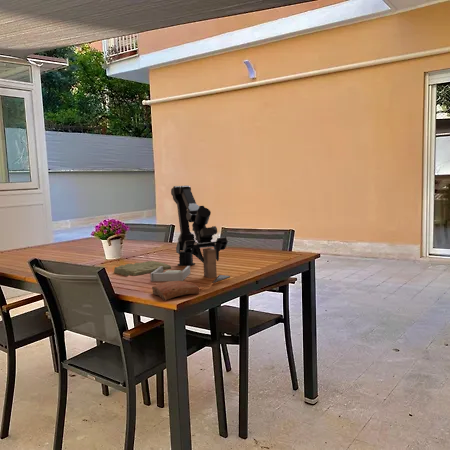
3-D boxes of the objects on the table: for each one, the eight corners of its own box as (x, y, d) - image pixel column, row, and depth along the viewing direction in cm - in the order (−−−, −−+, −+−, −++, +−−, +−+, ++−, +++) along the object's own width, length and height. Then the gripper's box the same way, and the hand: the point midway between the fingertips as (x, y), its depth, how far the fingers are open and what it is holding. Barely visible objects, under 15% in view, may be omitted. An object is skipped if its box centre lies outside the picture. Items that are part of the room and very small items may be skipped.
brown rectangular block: (204, 276, 188) (202, 248, 187) (211, 275, 189) (210, 247, 188) (208, 279, 182) (207, 250, 181) (216, 278, 184) (215, 249, 182)
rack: (160, 275, 196) (160, 266, 195) (190, 274, 194) (190, 265, 194) (150, 283, 181) (150, 273, 180) (182, 283, 179) (182, 273, 179)
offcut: (167, 273, 194) (167, 270, 194) (181, 273, 193) (181, 270, 193) (163, 275, 190) (163, 272, 190) (178, 276, 189) (178, 272, 188)
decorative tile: (171, 271, 206) (171, 263, 206) (134, 279, 192) (134, 271, 192) (148, 266, 220) (148, 259, 219) (112, 273, 206) (112, 266, 205)
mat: (208, 274, 194) (208, 273, 194) (230, 277, 187) (230, 276, 187) (190, 279, 185) (190, 278, 185) (212, 282, 177) (212, 281, 177)
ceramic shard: (181, 273, 173) (201, 286, 161) (178, 289, 174) (198, 303, 162) (146, 274, 164) (165, 288, 152) (144, 291, 165) (163, 305, 153)
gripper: (183, 221, 184) (193, 251, 174) (225, 218, 190) (236, 247, 181) (179, 238, 192) (188, 267, 183) (219, 235, 199) (229, 263, 189)
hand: (210, 261), depth 184 cm, fingers open, 6 cm apart
